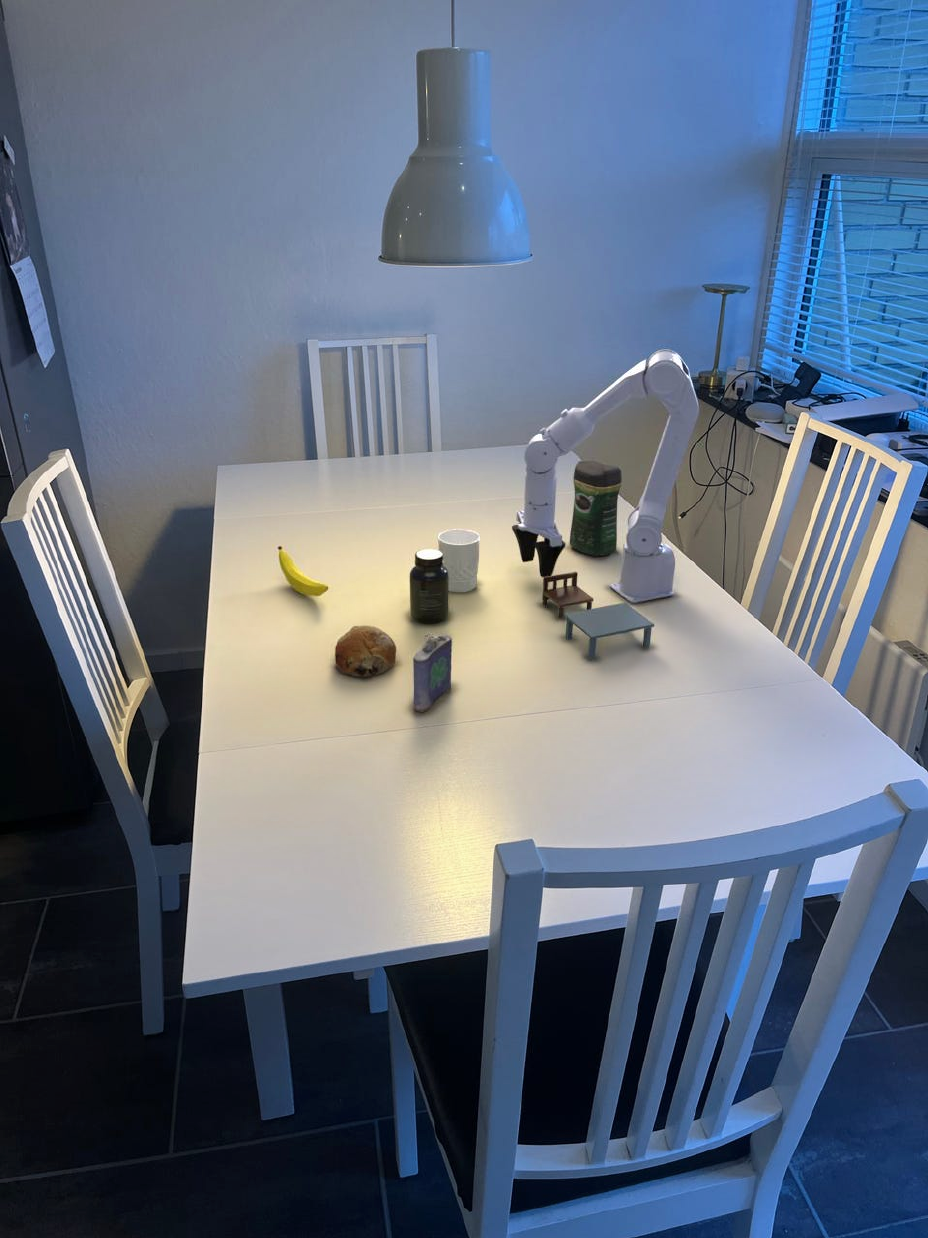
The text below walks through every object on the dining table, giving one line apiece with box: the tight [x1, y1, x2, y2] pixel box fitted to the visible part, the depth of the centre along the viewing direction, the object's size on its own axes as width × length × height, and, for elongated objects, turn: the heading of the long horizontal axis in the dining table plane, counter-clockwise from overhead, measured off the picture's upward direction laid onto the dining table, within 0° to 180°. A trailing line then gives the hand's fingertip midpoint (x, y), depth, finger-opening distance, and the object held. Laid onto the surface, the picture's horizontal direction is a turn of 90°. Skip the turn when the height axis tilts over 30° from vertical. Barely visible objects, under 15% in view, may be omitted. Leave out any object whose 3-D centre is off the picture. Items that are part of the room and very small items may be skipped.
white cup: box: [437, 528, 481, 593], centre depth 180 cm, size 8×8×10 cm
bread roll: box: [334, 625, 397, 678], centre depth 154 cm, size 10×10×8 cm
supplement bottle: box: [409, 548, 450, 625], centre depth 168 cm, size 7×7×12 cm
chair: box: [541, 571, 594, 620], centre depth 173 cm, size 7×7×6 cm
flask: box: [412, 633, 453, 713], centre depth 143 cm, size 9×3×11 cm, turn 151°
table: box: [564, 602, 655, 661], centre depth 161 cm, size 12×9×4 cm
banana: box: [277, 545, 329, 597], centre depth 177 cm, size 3×19×6 cm, turn 36°
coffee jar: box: [569, 458, 623, 557], centre depth 195 cm, size 10×8×19 cm
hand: (536, 568), depth 182 cm, fingers open, 7 cm apart
